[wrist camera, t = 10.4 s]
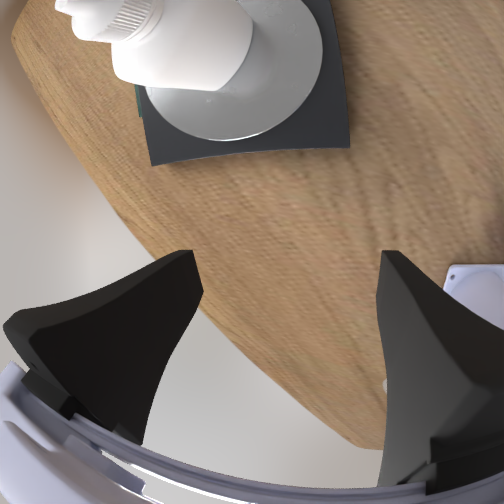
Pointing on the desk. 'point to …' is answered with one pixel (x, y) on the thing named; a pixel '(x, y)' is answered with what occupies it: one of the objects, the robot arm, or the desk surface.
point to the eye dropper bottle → (167, 39)
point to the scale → (281, 136)
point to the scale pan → (253, 78)
